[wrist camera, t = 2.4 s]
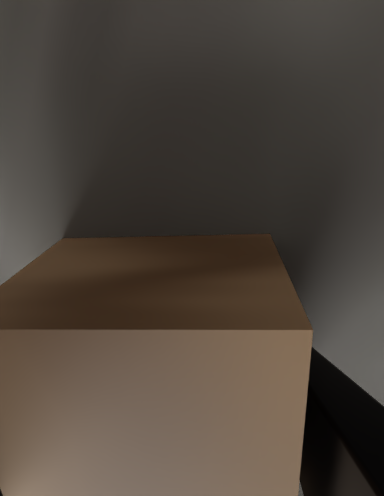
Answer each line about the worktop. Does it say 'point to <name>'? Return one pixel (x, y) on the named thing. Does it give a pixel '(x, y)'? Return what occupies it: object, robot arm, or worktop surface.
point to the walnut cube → (153, 369)
